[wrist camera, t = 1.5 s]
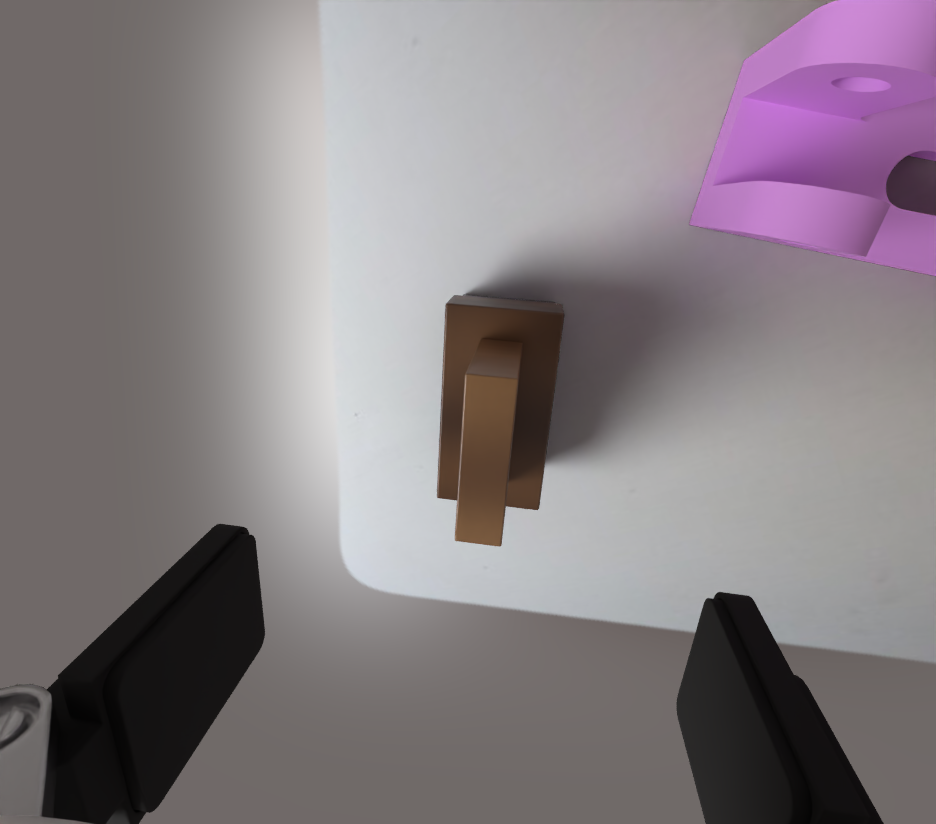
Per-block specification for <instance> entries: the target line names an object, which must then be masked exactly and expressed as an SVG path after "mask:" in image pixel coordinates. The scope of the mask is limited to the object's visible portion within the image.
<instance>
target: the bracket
mask: <svg viewBox="0 0 936 824" xmlns="http://www.w3.org/2000/svg"><path fill="white" fill-rule="evenodd" d="M906 156H912V157H917V158H922V159H928V160H933V161H936V0H838V1H834V2H831V3H828V4H826V5H823V6H821V7H819V8H817V9H816V10H814V11H813V12H811V13H810V14H809V15H807V16H806V17H804V18H803V19H801V20H800V21H799V22H797V23H796V24H794V25H793V26H792V27H790V28H789V29H787V30H786V31H785V32H783V33H782V34H780V35H779V36H778V37H776V38H775V39H773V40H772V41H771V42H769V43H768V44H766V45H765V46H764V47H762V48H761V49H759V50H758V51H757V52H755V53H754V54H752V55H751V56H750V57H748V58H747V59H745V60H744V62H743V65H742V68H741V71H740V74H739V77H738V80H737V83H736V86H735V89H734V92H733V95H732V98H731V101H730V104H729V107H728V110H727V113H726V116H725V119H724V122H723V125H722V128H721V131H720V134H719V137H718V140H717V143H716V146H715V149H714V152H713V155H712V157H711V160H710V163H709V166H708V169H707V172H706V175H705V178H704V181H703V184H702V187H701V190H700V193H699V196H698V199H697V202H696V205H695V208H694V211H693V214H692V217H691V220H690V223H689V225H692V226H697V227H702V228H706V229H711V230H716V231H721V232H726V233H730V234H735V235H740V236H745V237H750V238H754V239H759V240H764V241H769V242H774V243H778V244H783V245H788V246H793V247H798V248H802V249H807V250H812V251H817V252H822V253H826V254H831V255H836V256H841V257H846V258H850V259H855V260H860V261H865V262H870V263H874V264H879V265H884V266H889V267H894V268H899V269H903V270H908V271H913V272H918V273H923V274H927V275H932V276H936V216H933V215H928V214H923V213H918V212H914V211H909V210H904V209H900V208H897V207H895V206H894V205H893V204H892V203H891V202H890V201H889V199H888V197H887V194H886V183H887V179H888V176H889V174H890V172H891V171H892V169H893V168H894V167H895V165H896V164H897V163H898V162H899V161H900V160H902V159H903V158H904V157H906Z"/></svg>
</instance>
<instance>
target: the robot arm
mask: <svg viewBox="0 0 936 824" xmlns="http://www.w3.org/2000/svg"><path fill="white" fill-rule="evenodd" d="M264 636H265V629H264V618H263V608H262V600H261V589H260V580H259V569H258V560H257V550H256V541H255V538H254V536H252V535H249V532H248V530H247V528H245V527H240V526H233V525H225V524H218V525H216V526H214V527H213V528H212V529H211V530H210V531H209V532H208V533H207V534H206V535H205V536H204V537H203V538H201V539H200V540H199V541H198V542H197V543H196V544H195V545H194V546H193V547H192V548H191V549H190V550H189V551H188V552H187V553H186V554H185V555H184V556H183V557H182V558H181V559H179V560H178V561H177V562H176V563H175V564H174V565H173V566H172V567H171V568H170V569H169V570H168V571H167V572H166V573H165V574H164V575H163V576H162V577H161V578H160V579H159V580H158V581H156V582H155V583H154V584H153V585H152V586H151V587H150V588H149V589H148V590H147V591H146V592H145V593H144V594H143V595H142V596H141V597H140V598H139V599H138V600H137V601H135V602H134V604H132V605H131V606H130V607H129V608H128V609H127V610H126V611H125V612H124V613H123V614H122V615H121V616H120V617H119V618H118V619H117V620H116V621H115V622H113V623H112V624H111V625H110V626H109V627H108V628H107V629H106V630H105V631H104V632H103V633H102V634H101V635H100V636H99V637H98V638H97V639H96V640H95V641H94V642H93V643H92V644H90V645H89V646H88V647H87V649H85V650H84V651H83V652H82V653H81V654H80V655H79V656H78V657H77V658H76V659H75V660H74V661H73V662H72V663H71V664H70V665H68V666H67V667H66V668H65V669H64V670H63V671H62V672H61V673H60V674H59V675H58V679H57V680H56V681H55V682H54V683H53V684H52V685H51V686H50V687H49V688H48V689H47V690H46V689H45V688H44V687H40V686H37V685H33V684H25V685H15V686H10V687H6V688H2V689H0V824H139V822H140V821H141V819H142V818H143V816H144V815H145V813H146V812H149V813H150V812H152V811H154V810H155V809H156V808H157V807H158V806H159V805H160V803H161V802H162V800H163V799H164V797H165V795H166V794H167V792H168V791H169V789H170V788H171V786H172V785H173V783H174V782H175V780H176V779H177V777H178V776H179V774H180V773H181V771H182V769H183V768H184V766H185V765H186V763H187V762H188V760H189V759H190V757H191V756H192V754H193V752H194V751H195V749H196V748H197V746H198V745H199V743H200V742H201V740H202V738H203V737H204V735H205V734H206V732H207V731H208V729H209V728H210V726H211V725H212V723H213V722H214V720H215V719H216V717H217V715H218V714H219V712H220V711H221V709H222V708H223V706H224V705H225V703H226V702H227V700H228V698H229V697H230V695H231V694H232V692H233V691H234V689H235V688H236V686H237V685H238V683H239V681H240V680H241V678H242V677H243V675H244V673H245V672H246V671H247V669H248V667H249V666H250V664H251V663H252V661H253V660H254V658H255V657H256V655H257V654H258V652H259V650H260V648H261V647H262V644H263V640H264ZM677 715H678V720H679V724H680V728H681V731H682V735H683V739H684V742H685V747H686V750H687V754H688V758H689V762H690V765H691V769H692V773H693V777H694V781H695V784H696V788H697V792H698V796H699V799H700V803H701V807H702V811H703V815H704V818H705V822H706V824H884V823H883V822H882V820H881V818H880V816H879V814H878V813H877V811H876V809H875V807H874V806H873V804H872V802H871V800H870V799H869V796H868V795H867V793H866V791H865V789H864V787H863V786H862V784H861V782H860V780H859V778H858V777H857V775H856V773H855V771H854V770H853V768H852V766H851V764H850V762H849V761H848V759H847V757H846V755H845V753H844V751H843V750H842V748H841V746H840V744H839V742H838V741H837V739H836V737H835V735H834V733H833V732H832V730H831V728H830V726H829V725H828V723H827V721H826V719H825V717H824V715H823V714H822V712H821V710H820V708H819V707H818V705H817V703H816V701H815V699H814V697H813V696H812V694H811V692H810V690H809V688H808V687H807V685H806V684H805V683H804V681H803V680H802V679H801V678H799V677H798V676H796V675H794V674H793V673H792V671H791V669H790V667H789V665H788V663H787V661H786V660H785V658H784V656H783V654H782V652H781V650H780V649H779V647H778V645H777V643H776V641H775V639H774V637H773V636H772V634H771V632H770V630H769V628H768V626H767V624H766V623H765V621H764V619H763V617H762V615H761V613H760V611H759V610H758V608H757V606H756V604H755V602H754V601H753V599H752V598H751V597H749V596H745V595H738V594H730V593H723V592H718V593H717V594H716V595H715V597H714V599H711V598H707V599H706V600H705V602H704V605H703V609H702V612H701V616H700V619H699V623H698V626H697V630H696V633H695V637H694V641H693V644H692V648H691V651H690V655H689V658H688V662H687V665H686V668H685V672H684V675H683V679H682V682H681V686H680V689H679V693H678V698H677Z"/></svg>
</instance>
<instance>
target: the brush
mask: <svg viewBox="0 0 936 824" xmlns="http://www.w3.org/2000/svg"><path fill="white" fill-rule="evenodd" d="M563 323H564V311H563V307H562V305H561V304H556V303H555V302H547V301H535V300H523V299H511V298H499V297H487V296H475V295H463V296H459V295H454V296H453V297H452V298H451V299H450V300H449V301H448V302H447V303H446V309H445V331H444V352H443V374H442V396H441V417H440V439H439V461H438V482H437V498H442V499H450V500H457V511H456V527H455V541H461V542H469V543H476V544H484V545H492V546H501V544H502V535H503V526H504V517H505V508H506V506H508V507H516V508H524V509H533V510H538V509H539V505H540V497H541V489H542V482H543V474H544V467H545V459H546V452H547V444H548V436H549V429H550V421H551V414H552V406H553V398H554V391H555V383H556V376H557V368H558V361H559V353H560V345H561V338H562V330H563Z"/></svg>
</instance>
